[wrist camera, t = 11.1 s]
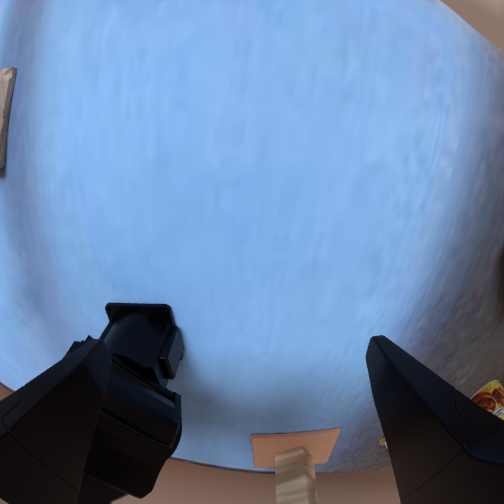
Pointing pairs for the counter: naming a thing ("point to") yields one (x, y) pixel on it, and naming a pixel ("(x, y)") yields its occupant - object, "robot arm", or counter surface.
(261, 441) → the tile
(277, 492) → the tall wooden block
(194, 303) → the counter surface
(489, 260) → the counter surface
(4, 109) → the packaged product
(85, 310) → the counter surface
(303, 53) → the counter surface
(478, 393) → the canned food
